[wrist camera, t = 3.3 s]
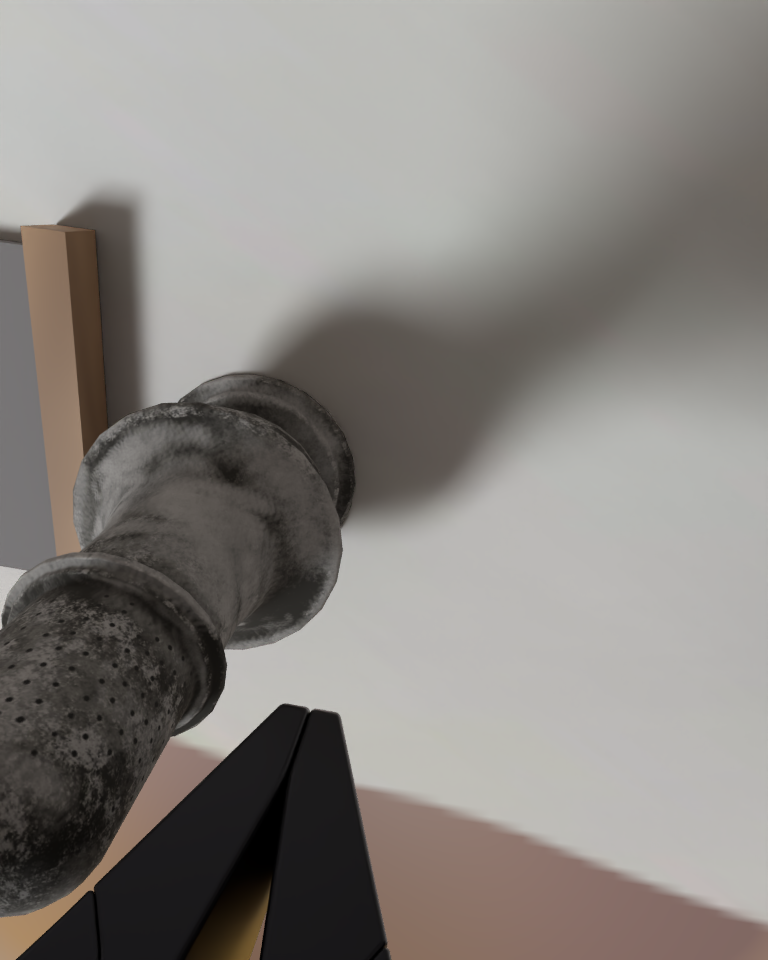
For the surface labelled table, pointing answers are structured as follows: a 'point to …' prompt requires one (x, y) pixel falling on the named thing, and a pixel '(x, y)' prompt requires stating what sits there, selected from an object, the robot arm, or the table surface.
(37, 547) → the mat
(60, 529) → the kerb
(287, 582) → the stone baluster finial
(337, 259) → the table surface
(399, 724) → the table surface
